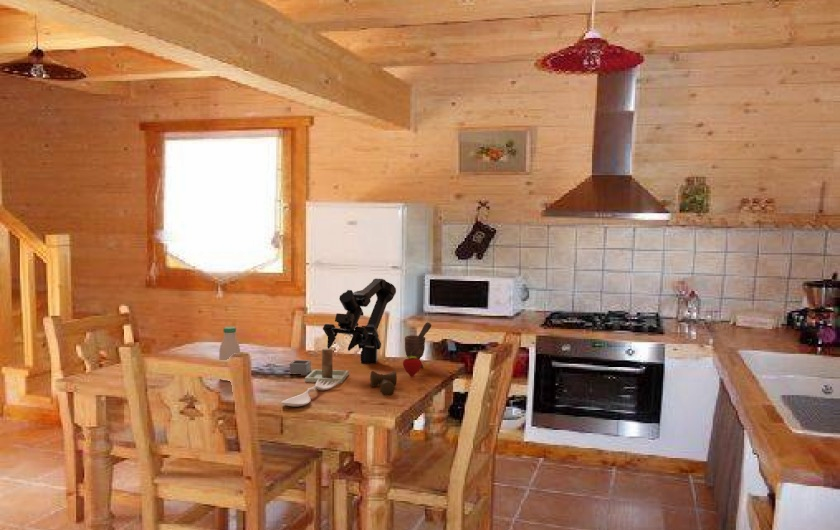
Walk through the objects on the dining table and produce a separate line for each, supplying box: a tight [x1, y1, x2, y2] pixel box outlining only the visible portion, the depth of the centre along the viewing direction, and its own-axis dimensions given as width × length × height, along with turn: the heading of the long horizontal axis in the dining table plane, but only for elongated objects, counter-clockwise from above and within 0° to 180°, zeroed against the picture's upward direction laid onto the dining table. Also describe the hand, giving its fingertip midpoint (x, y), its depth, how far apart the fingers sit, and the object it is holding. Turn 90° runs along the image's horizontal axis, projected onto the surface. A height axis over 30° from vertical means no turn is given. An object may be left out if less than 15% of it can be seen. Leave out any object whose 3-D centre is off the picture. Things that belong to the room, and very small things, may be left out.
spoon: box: [280, 378, 340, 408], centre depth 226 cm, size 9×32×4 cm, turn 163°
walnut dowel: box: [321, 348, 334, 378], centre depth 251 cm, size 4×4×11 cm
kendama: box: [369, 370, 397, 396], centre depth 240 cm, size 6×10×20 cm
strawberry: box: [402, 352, 423, 378], centre depth 258 cm, size 6×8×10 cm
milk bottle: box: [218, 326, 241, 382], centre depth 249 cm, size 8×8×20 cm
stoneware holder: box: [289, 359, 312, 376], centre depth 259 cm, size 7×7×5 cm
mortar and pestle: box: [404, 321, 432, 369], centre depth 273 cm, size 12×9×20 cm
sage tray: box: [304, 369, 350, 385], centre depth 251 cm, size 14×14×2 cm
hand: (338, 349), depth 258 cm, fingers open, 9 cm apart
